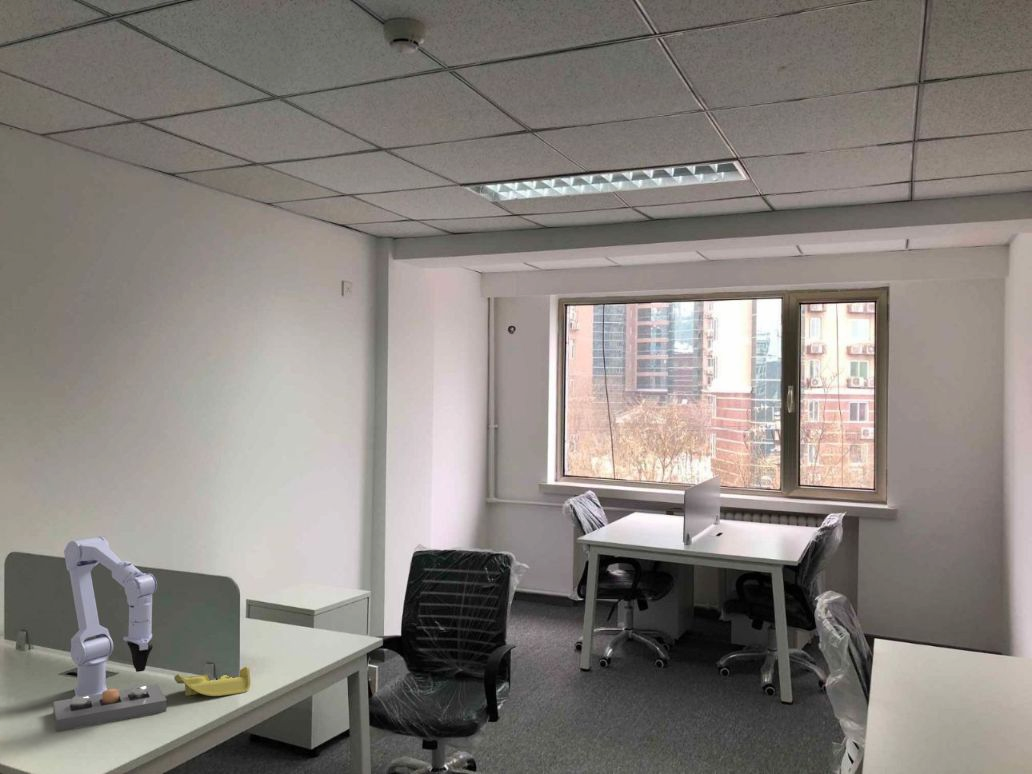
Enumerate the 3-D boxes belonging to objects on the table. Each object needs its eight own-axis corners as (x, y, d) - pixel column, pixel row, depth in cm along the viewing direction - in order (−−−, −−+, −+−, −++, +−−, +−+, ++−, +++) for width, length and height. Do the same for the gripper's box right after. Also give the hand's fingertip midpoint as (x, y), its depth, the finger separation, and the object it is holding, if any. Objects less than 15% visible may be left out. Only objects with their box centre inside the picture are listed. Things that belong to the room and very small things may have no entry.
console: (53, 712, 215) (53, 701, 215) (157, 694, 229) (157, 684, 229) (56, 731, 203) (56, 720, 203) (166, 711, 217) (166, 700, 217)
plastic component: (239, 671, 242) (250, 665, 235) (240, 696, 240) (251, 691, 233) (170, 679, 231) (179, 672, 224) (170, 706, 228) (180, 700, 221)
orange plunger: (101, 699, 216) (101, 690, 216) (117, 696, 219) (117, 687, 219) (102, 704, 213) (103, 695, 213) (119, 701, 215) (119, 692, 215)
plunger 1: (71, 704, 213) (72, 695, 213) (88, 701, 215) (89, 692, 215) (73, 709, 209) (73, 700, 209) (90, 706, 211) (90, 697, 211)
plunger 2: (129, 694, 220) (129, 685, 220) (145, 691, 222) (145, 683, 222) (131, 699, 217) (131, 690, 217) (147, 696, 219) (147, 687, 219)
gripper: (120, 615, 224) (119, 663, 224) (127, 628, 212) (126, 679, 211) (148, 611, 228) (147, 659, 227) (156, 624, 215) (155, 675, 215)
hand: (139, 669), depth 220 cm, fingers open, 3 cm apart
